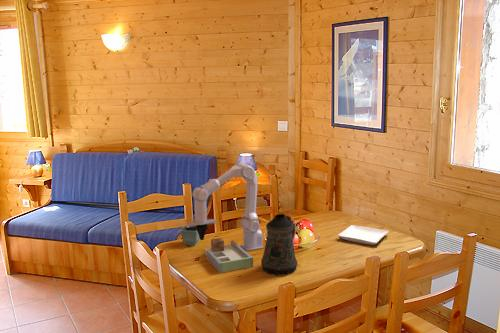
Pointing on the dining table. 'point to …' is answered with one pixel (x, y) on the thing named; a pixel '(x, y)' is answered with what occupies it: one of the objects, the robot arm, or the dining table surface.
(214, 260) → the tray
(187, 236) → the flower pot
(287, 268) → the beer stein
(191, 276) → the dining table surface
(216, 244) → the walnut block
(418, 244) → the dining table surface
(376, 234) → the salad plate
